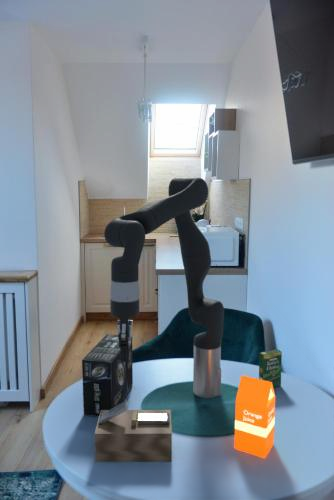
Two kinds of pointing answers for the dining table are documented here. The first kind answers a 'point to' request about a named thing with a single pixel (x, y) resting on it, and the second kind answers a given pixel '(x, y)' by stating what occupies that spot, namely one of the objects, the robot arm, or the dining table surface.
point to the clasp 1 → (113, 412)
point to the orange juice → (254, 416)
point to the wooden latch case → (133, 439)
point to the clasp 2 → (153, 418)
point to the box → (105, 376)
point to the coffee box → (270, 367)
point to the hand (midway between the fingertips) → (124, 360)
